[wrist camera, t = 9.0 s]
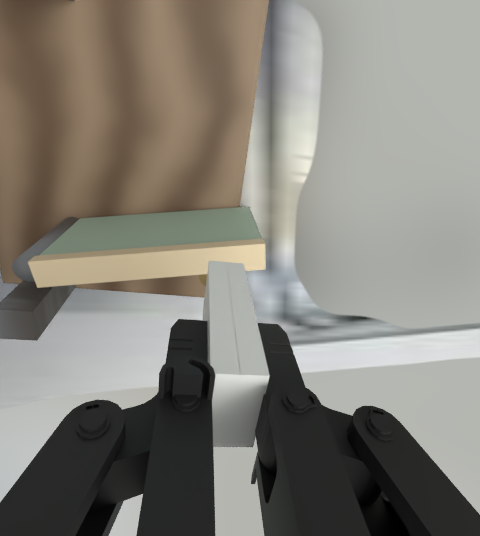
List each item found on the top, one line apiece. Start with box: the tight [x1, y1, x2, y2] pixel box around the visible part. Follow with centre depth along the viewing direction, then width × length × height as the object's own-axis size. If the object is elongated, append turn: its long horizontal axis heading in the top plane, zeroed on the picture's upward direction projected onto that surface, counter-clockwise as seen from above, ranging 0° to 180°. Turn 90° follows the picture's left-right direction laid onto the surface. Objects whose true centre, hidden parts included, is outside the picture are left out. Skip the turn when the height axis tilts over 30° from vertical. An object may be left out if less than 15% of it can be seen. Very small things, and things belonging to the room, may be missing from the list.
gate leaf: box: [12, 207, 265, 288], centre depth 27 cm, size 2×18×10 cm, turn 93°
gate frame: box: [0, 0, 269, 340], centre depth 24 cm, size 23×30×13 cm
